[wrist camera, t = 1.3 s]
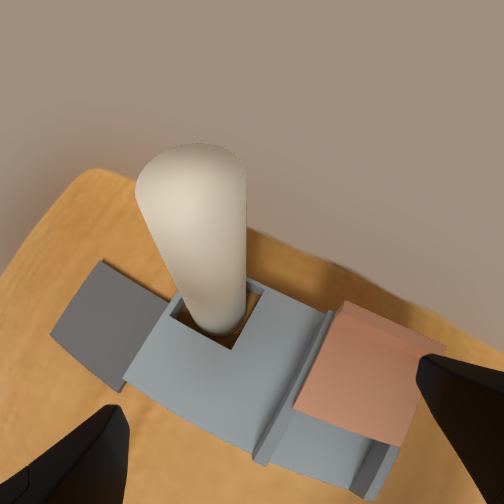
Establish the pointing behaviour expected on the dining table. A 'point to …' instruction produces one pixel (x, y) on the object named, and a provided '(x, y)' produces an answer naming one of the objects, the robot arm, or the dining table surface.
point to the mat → (108, 323)
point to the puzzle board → (259, 391)
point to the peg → (200, 229)
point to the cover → (366, 375)
